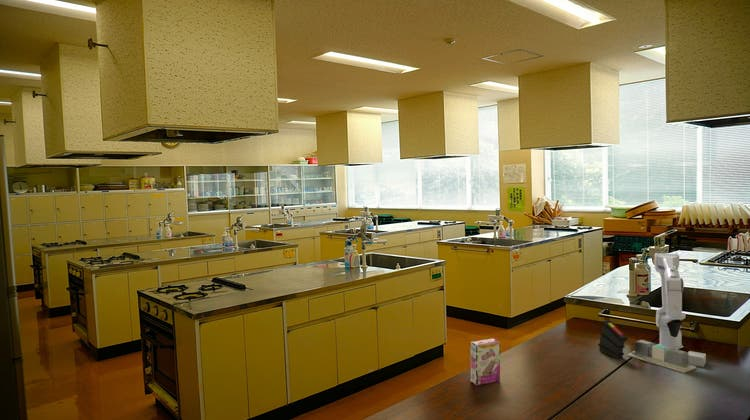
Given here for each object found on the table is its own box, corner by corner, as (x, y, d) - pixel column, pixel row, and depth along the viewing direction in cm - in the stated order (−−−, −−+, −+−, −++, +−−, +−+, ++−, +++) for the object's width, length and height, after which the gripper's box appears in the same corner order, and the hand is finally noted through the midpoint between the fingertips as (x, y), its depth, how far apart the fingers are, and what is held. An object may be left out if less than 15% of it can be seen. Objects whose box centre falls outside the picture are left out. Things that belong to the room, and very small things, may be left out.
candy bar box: (477, 386, 188) (476, 345, 188) (470, 382, 193) (469, 341, 192) (501, 381, 192) (500, 341, 192) (493, 377, 197) (493, 337, 196)
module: (657, 355, 211) (657, 343, 211) (669, 359, 207) (669, 346, 207) (652, 357, 209) (652, 345, 209) (664, 361, 205) (664, 348, 205)
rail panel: (639, 351, 221) (639, 337, 220) (696, 368, 200) (696, 352, 200) (627, 355, 216) (627, 340, 216) (684, 373, 195) (684, 356, 195)
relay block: (689, 359, 210) (689, 350, 210) (705, 363, 206) (705, 353, 206) (686, 364, 205) (686, 354, 205) (703, 367, 201) (703, 357, 201)
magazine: (599, 344, 227) (610, 319, 220) (619, 365, 216) (631, 339, 209) (593, 345, 226) (603, 320, 219) (613, 366, 215) (625, 340, 208)
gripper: (674, 310, 201) (674, 342, 202) (693, 304, 208) (692, 335, 209) (657, 306, 207) (657, 337, 208) (676, 301, 215) (675, 331, 215)
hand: (673, 336), depth 209 cm, fingers closed
